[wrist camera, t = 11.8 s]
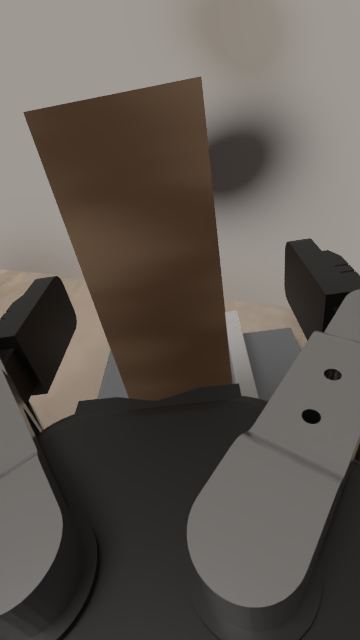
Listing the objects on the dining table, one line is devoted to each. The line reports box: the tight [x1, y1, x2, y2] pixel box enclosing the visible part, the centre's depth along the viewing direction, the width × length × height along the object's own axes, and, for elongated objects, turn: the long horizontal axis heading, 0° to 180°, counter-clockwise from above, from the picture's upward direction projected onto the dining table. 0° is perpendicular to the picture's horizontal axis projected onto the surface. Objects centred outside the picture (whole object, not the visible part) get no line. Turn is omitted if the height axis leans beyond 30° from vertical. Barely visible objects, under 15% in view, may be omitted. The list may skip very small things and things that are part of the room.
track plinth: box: [98, 311, 301, 402], centre depth 16 cm, size 14×22×4 cm, turn 0°
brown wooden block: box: [24, 77, 232, 401], centre depth 12 cm, size 3×5×16 cm, turn 179°
